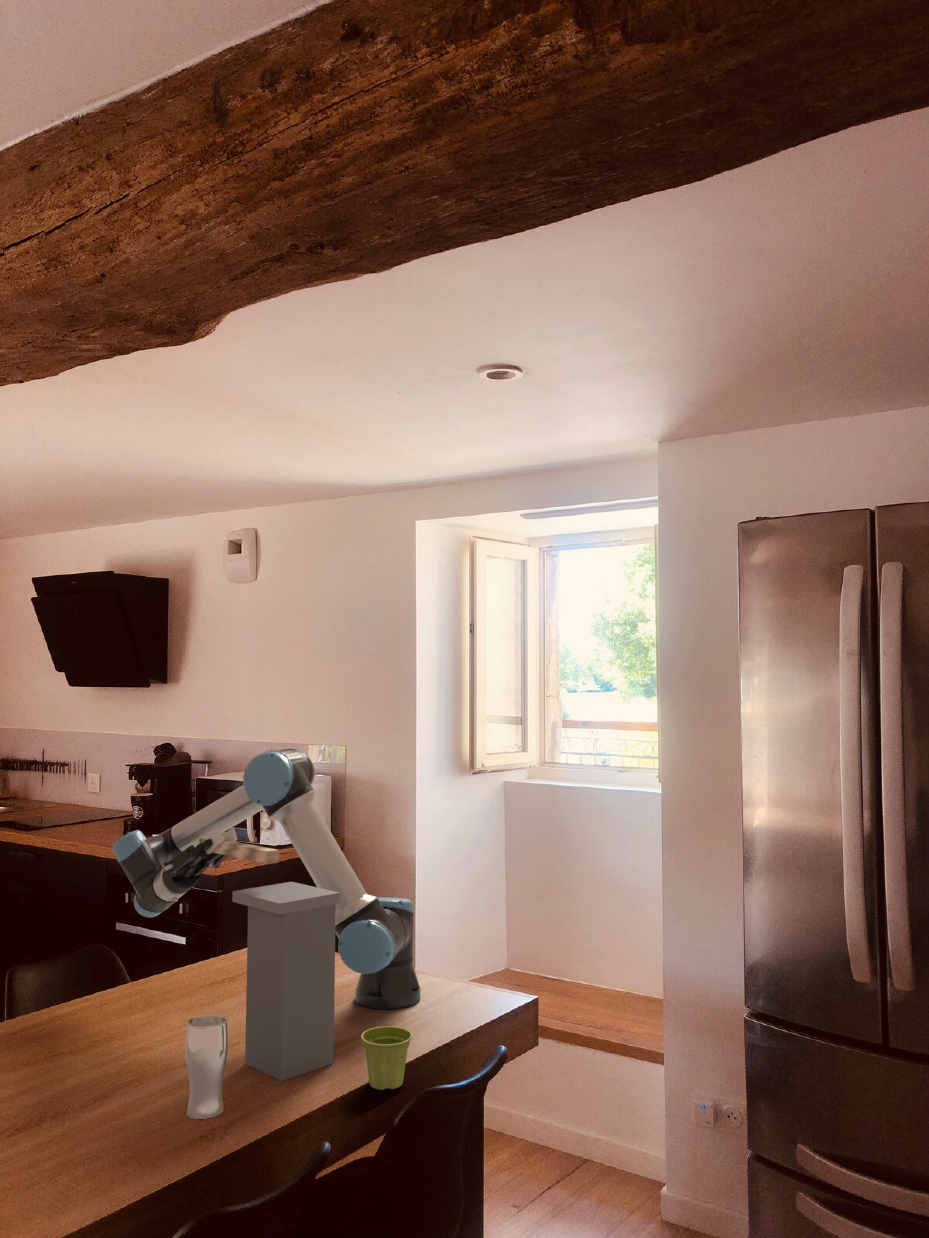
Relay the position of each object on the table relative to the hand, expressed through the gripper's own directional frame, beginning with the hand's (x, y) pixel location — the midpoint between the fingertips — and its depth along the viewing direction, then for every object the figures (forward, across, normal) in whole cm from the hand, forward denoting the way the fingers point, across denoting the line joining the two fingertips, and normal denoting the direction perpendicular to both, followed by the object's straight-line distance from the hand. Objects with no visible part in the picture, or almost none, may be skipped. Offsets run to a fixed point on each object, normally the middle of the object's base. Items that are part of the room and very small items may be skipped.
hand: (227, 834), depth 204 cm
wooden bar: (+1, 0, -5) cm, 6 cm away
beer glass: (+6, +23, -51) cm, 56 cm away
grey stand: (-2, 0, -46) cm, 46 cm away
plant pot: (+17, -6, -58) cm, 61 cm away
